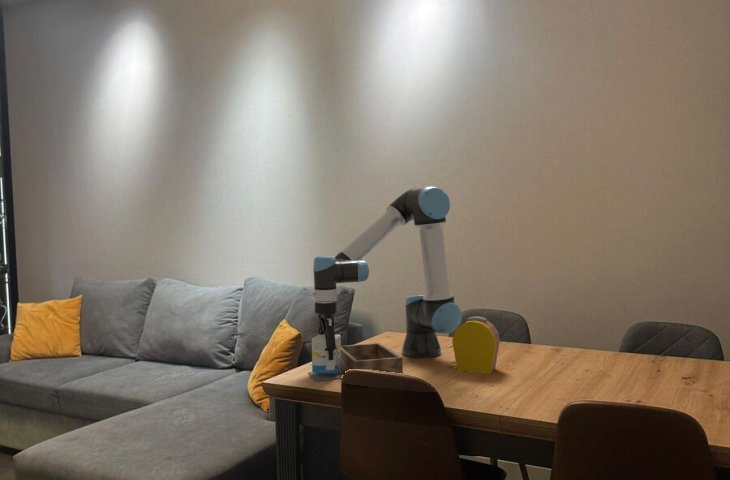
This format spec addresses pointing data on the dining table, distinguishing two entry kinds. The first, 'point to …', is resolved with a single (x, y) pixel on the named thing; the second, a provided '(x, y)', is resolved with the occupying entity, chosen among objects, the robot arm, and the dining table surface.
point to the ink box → (324, 354)
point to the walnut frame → (370, 358)
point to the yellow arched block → (476, 345)
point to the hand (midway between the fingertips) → (326, 365)
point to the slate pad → (325, 376)
